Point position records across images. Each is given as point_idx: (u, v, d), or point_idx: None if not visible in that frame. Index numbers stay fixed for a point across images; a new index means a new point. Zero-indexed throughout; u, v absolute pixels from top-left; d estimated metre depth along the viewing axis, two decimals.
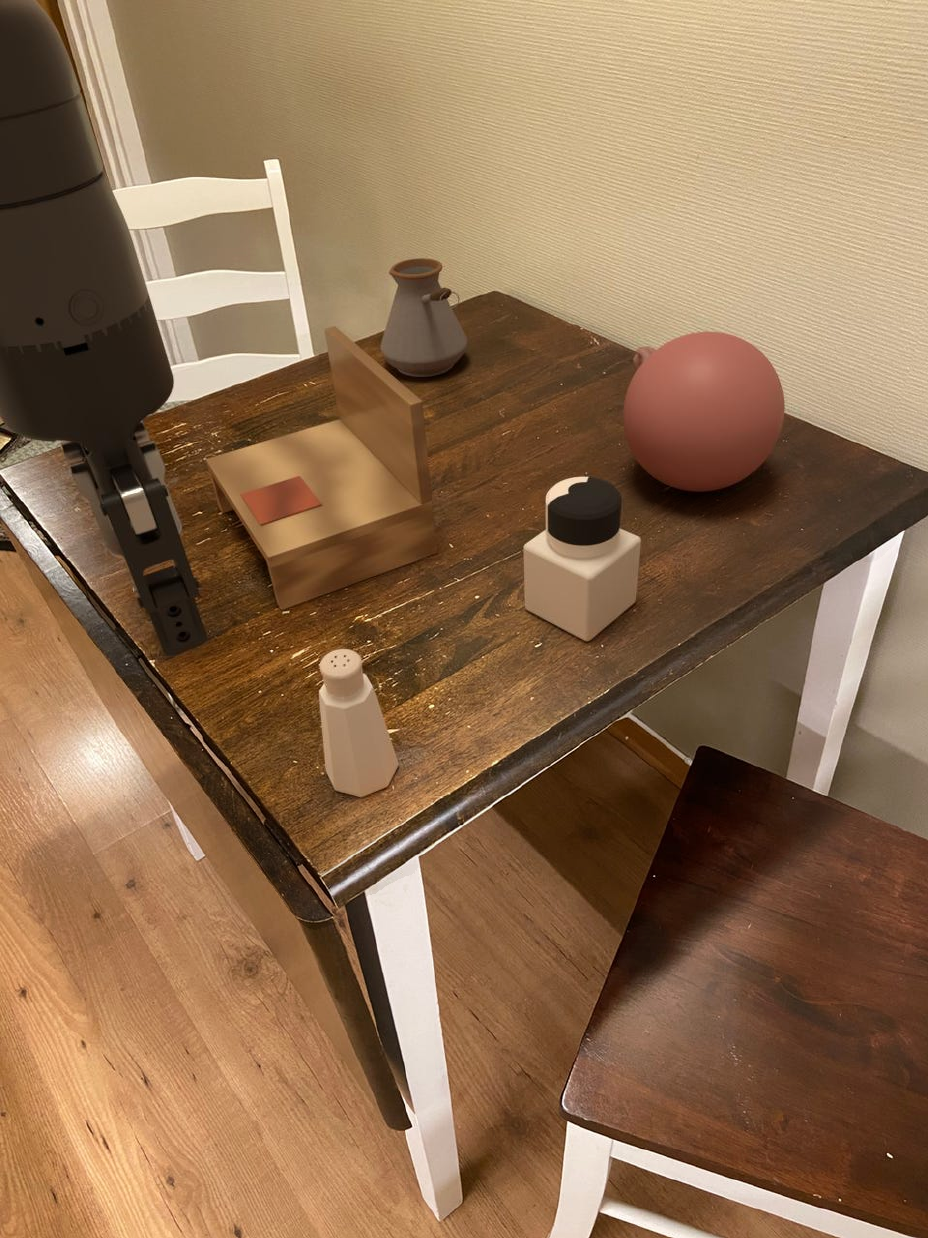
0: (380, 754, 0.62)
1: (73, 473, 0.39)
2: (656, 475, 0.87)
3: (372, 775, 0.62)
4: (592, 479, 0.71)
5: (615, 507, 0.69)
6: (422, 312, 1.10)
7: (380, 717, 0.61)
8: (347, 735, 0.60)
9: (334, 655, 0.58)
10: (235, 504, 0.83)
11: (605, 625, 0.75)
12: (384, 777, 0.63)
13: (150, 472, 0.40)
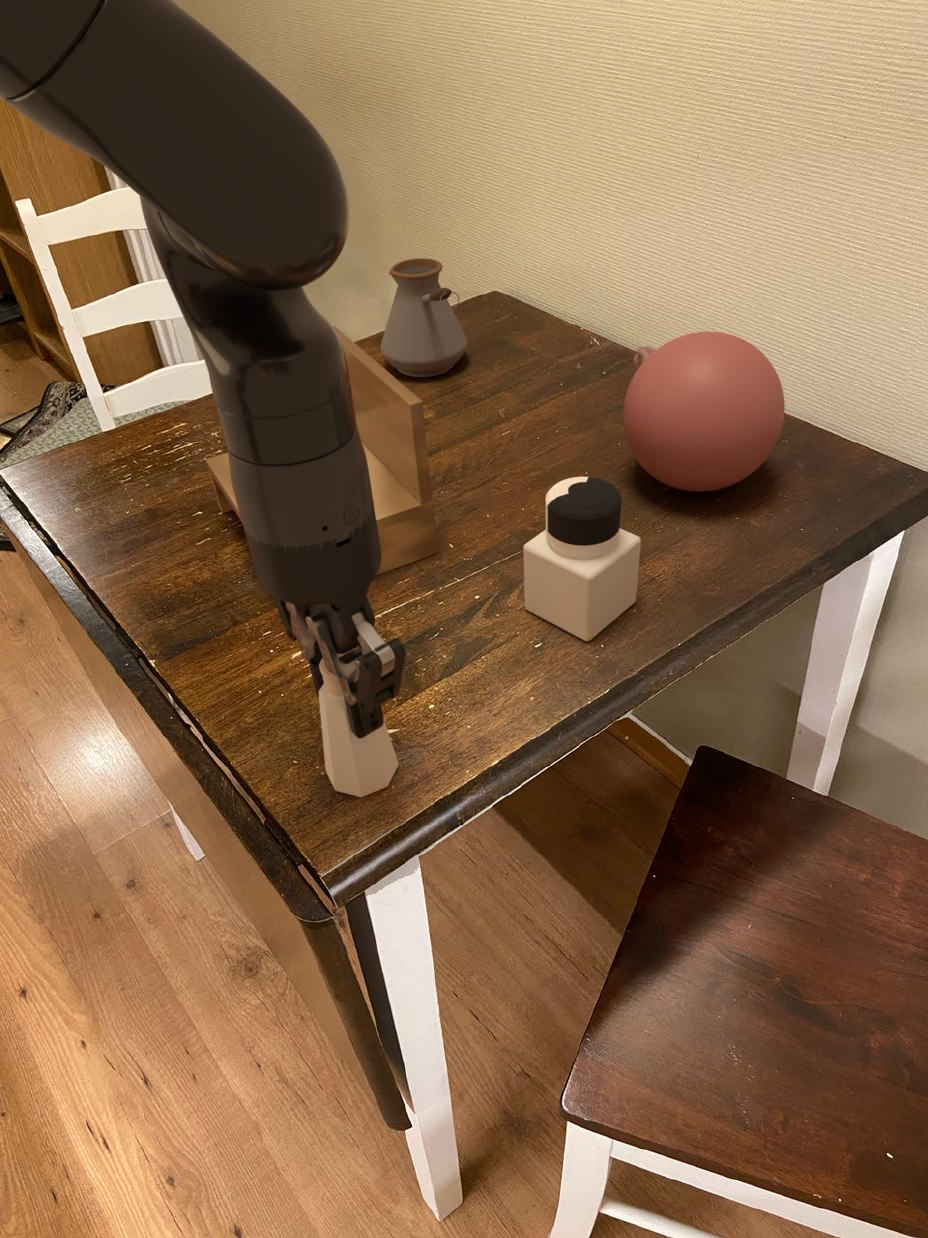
0: (380, 754, 0.62)
1: (316, 625, 0.53)
2: (656, 475, 0.87)
3: (372, 775, 0.62)
4: (592, 479, 0.71)
5: (614, 507, 0.69)
6: (422, 312, 1.10)
7: None
8: (347, 735, 0.60)
9: None
10: (235, 504, 0.83)
11: (605, 625, 0.75)
12: (384, 777, 0.63)
13: None
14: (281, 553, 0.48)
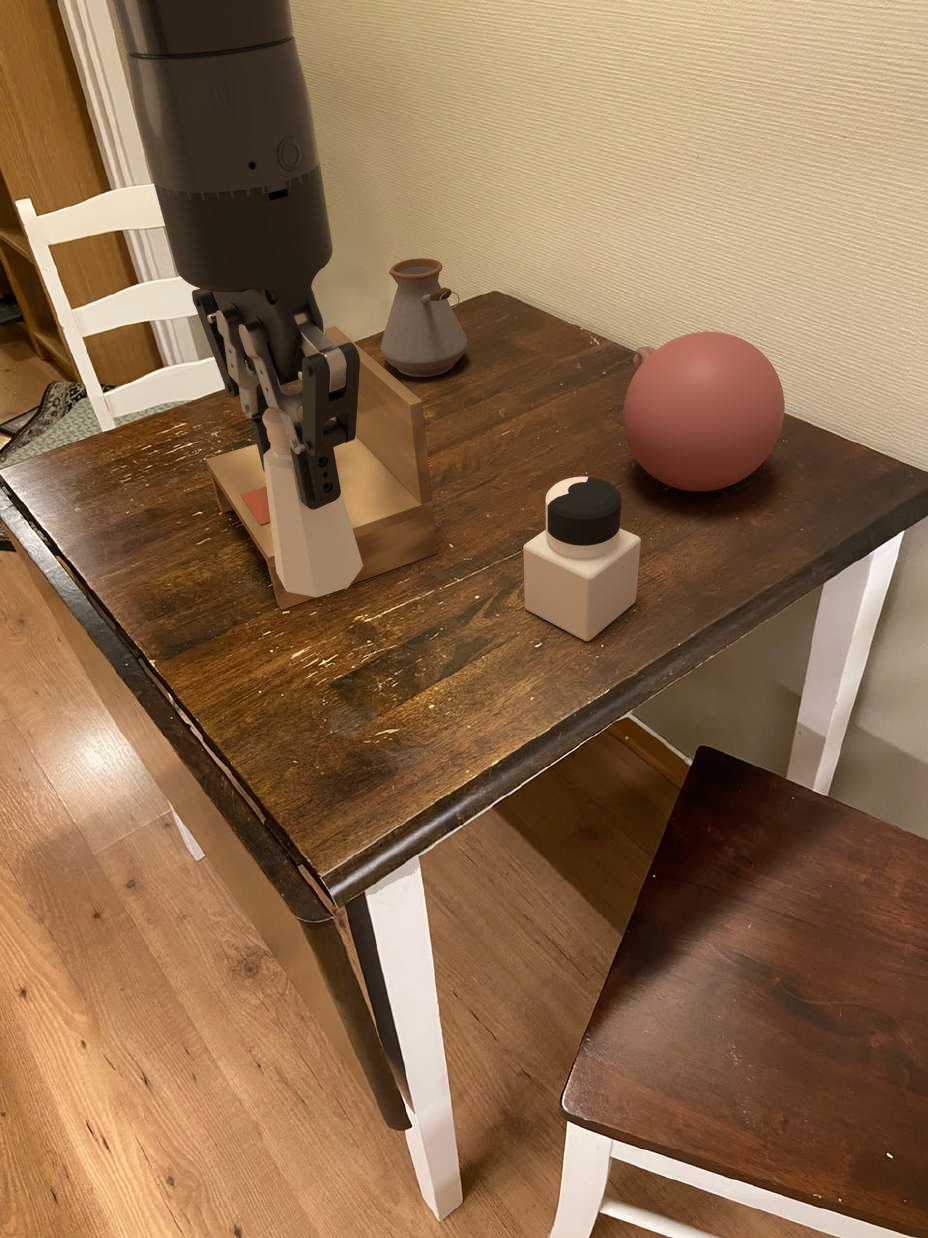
0: (339, 541, 0.52)
1: (251, 334, 0.42)
2: (656, 475, 0.87)
3: (329, 568, 0.52)
4: (592, 479, 0.71)
5: (614, 507, 0.69)
6: (422, 312, 1.10)
7: None
8: (298, 508, 0.49)
9: None
10: (235, 504, 0.83)
11: (605, 625, 0.75)
12: (344, 573, 0.53)
13: None
14: (198, 204, 0.38)
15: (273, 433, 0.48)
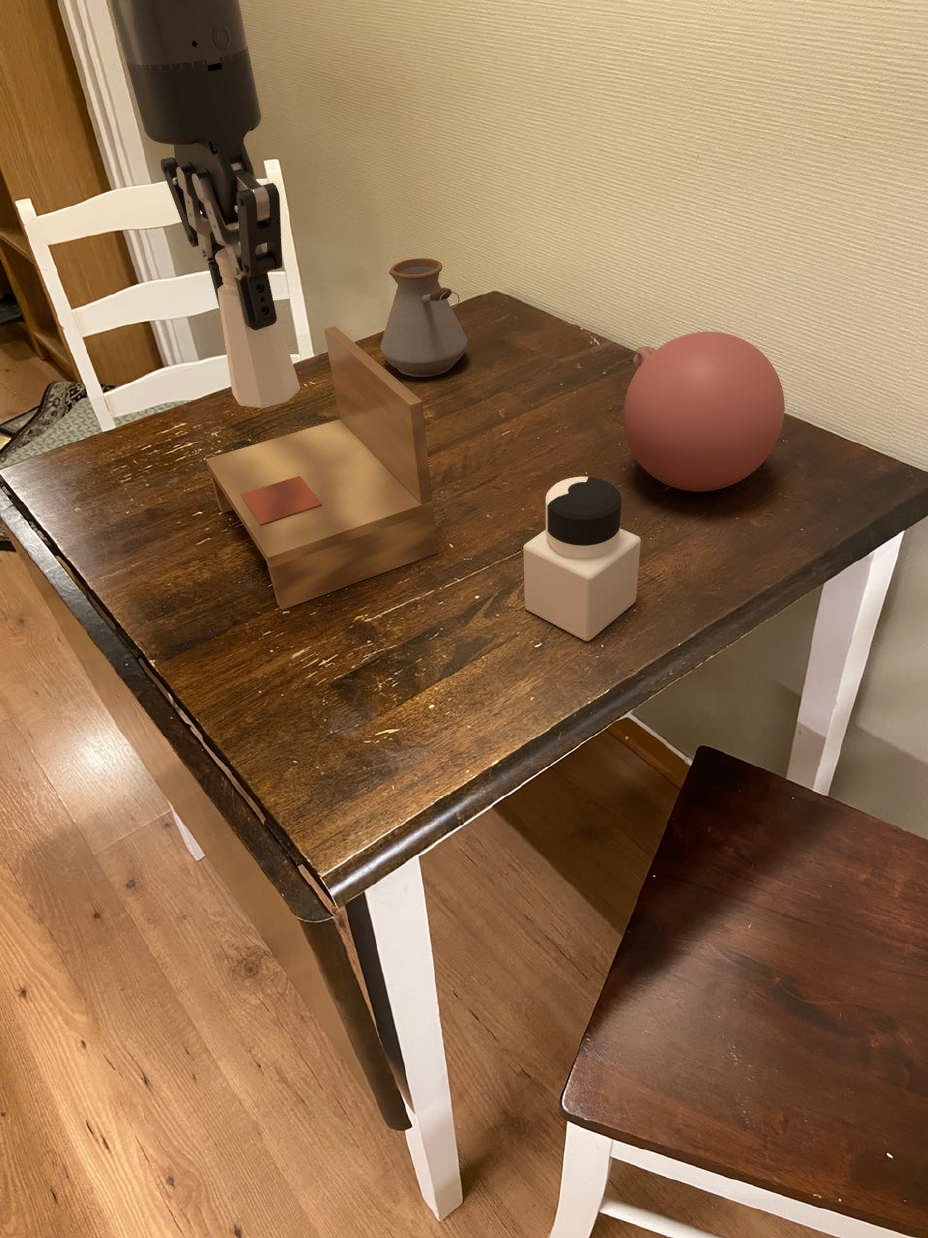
0: (278, 361, 0.67)
1: (200, 180, 0.57)
2: (656, 475, 0.87)
3: (271, 383, 0.67)
4: (592, 479, 0.71)
5: (614, 507, 0.69)
6: (422, 312, 1.10)
7: (277, 322, 0.66)
8: (244, 330, 0.64)
9: None
10: (235, 504, 0.83)
11: (605, 625, 0.75)
12: (283, 389, 0.68)
13: None
14: (157, 74, 0.53)
15: (223, 267, 0.62)
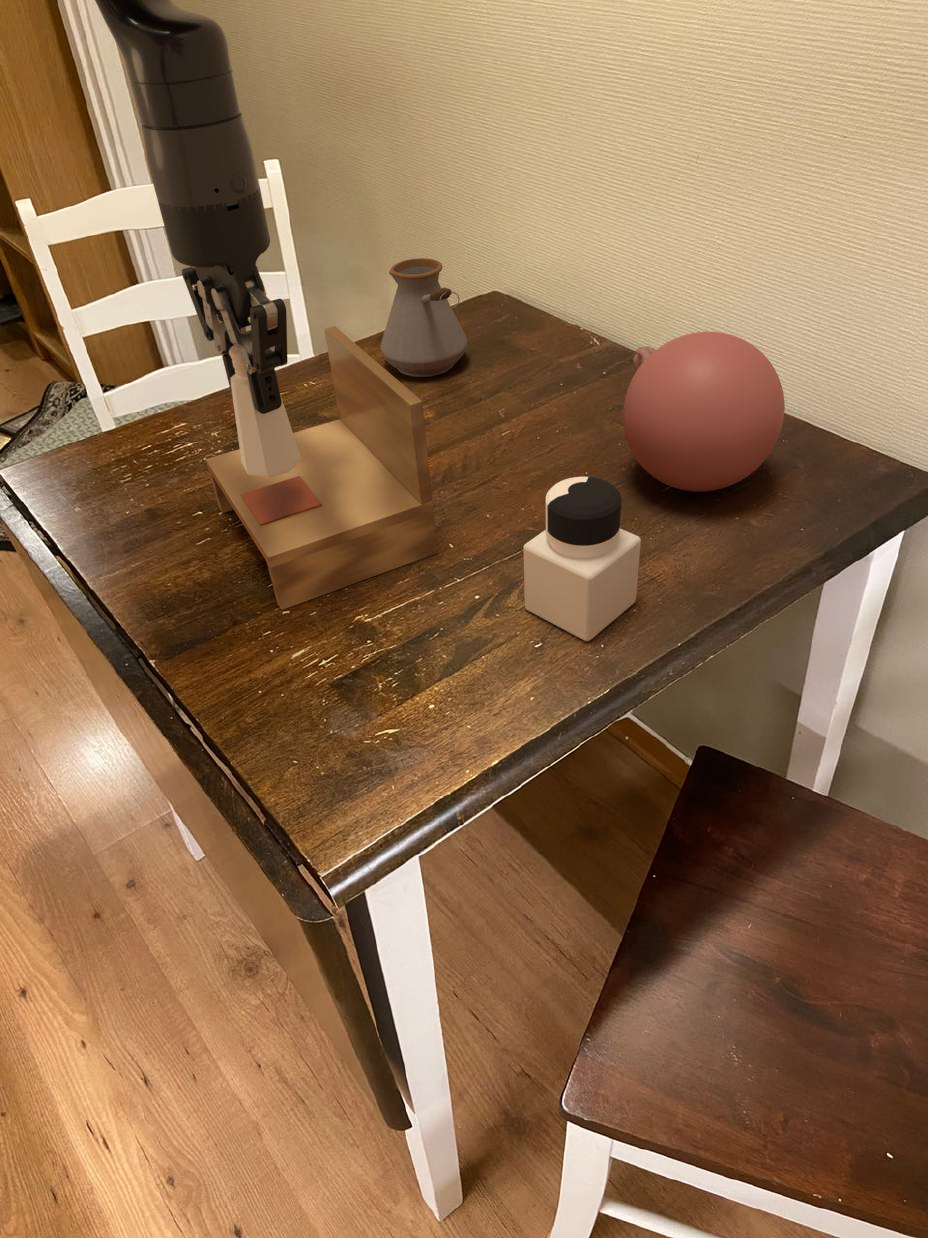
0: (282, 438, 0.77)
1: (218, 294, 0.68)
2: (656, 475, 0.87)
3: (276, 456, 0.77)
4: (592, 479, 0.71)
5: (614, 507, 0.69)
6: (422, 312, 1.10)
7: (281, 405, 0.76)
8: (253, 413, 0.75)
9: None
10: (235, 504, 0.83)
11: (605, 625, 0.75)
12: (287, 461, 0.78)
13: None
14: (184, 213, 0.63)
15: (236, 361, 0.73)
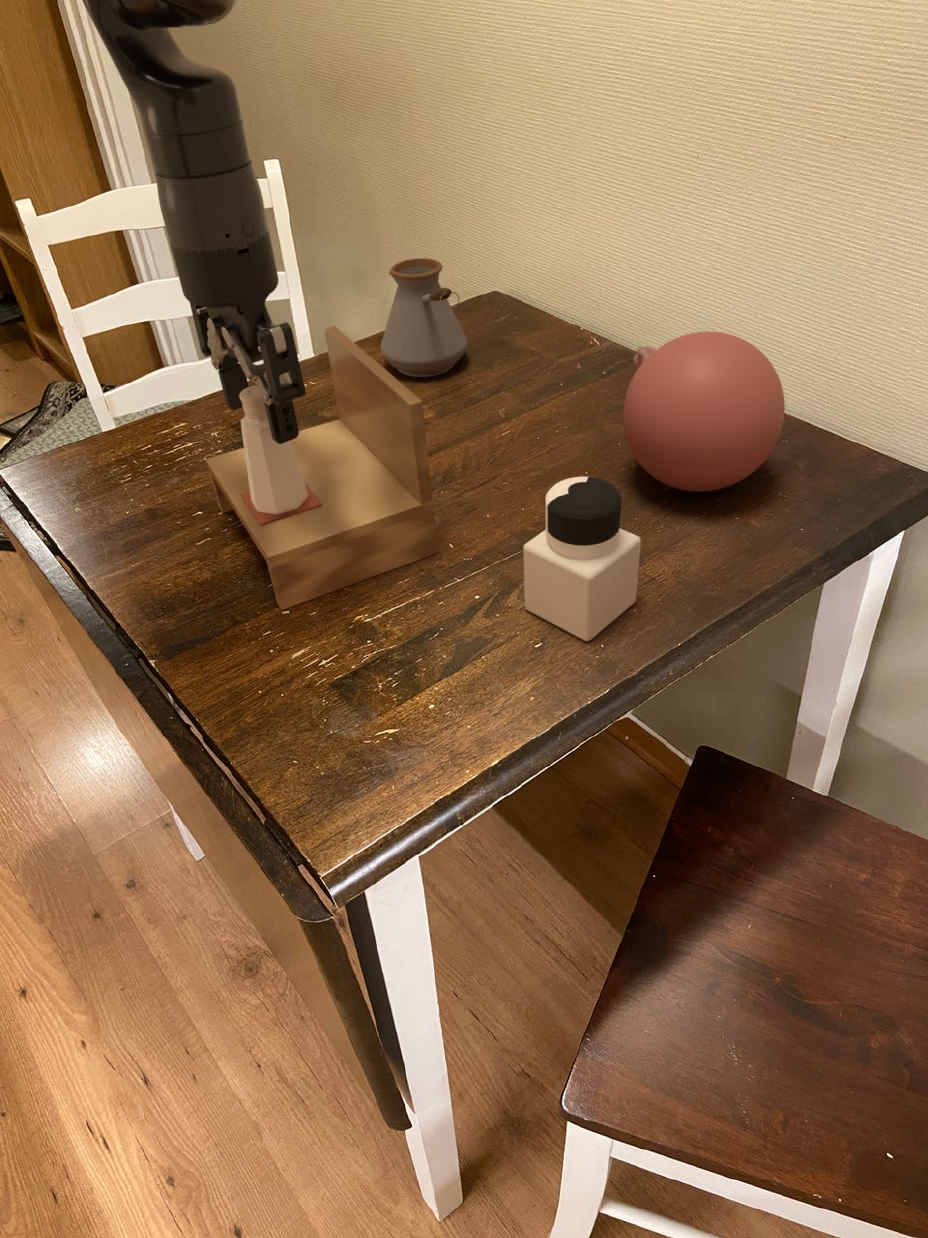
0: (291, 477, 0.79)
1: (227, 329, 0.70)
2: (656, 475, 0.87)
3: (285, 494, 0.80)
4: (592, 479, 0.71)
5: (614, 507, 0.69)
6: (422, 312, 1.10)
7: (290, 445, 0.79)
8: (263, 454, 0.77)
9: (251, 388, 0.76)
10: (235, 504, 0.83)
11: (605, 625, 0.75)
12: (295, 498, 0.81)
13: None
14: (196, 257, 0.65)
15: (246, 405, 0.75)
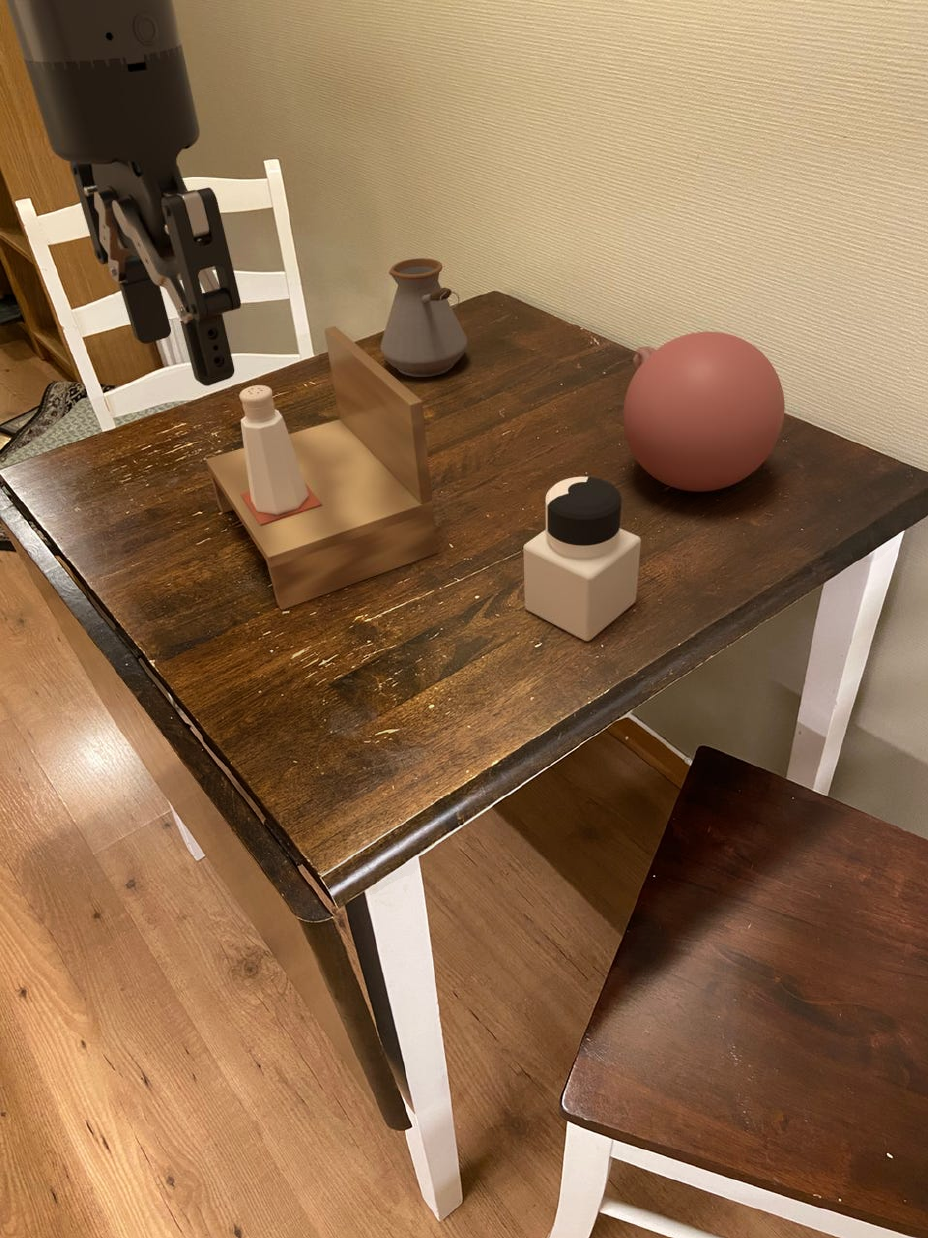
0: (291, 477, 0.79)
1: (120, 204, 0.46)
2: (656, 475, 0.87)
3: (285, 494, 0.80)
4: (592, 479, 0.71)
5: (614, 507, 0.69)
6: (422, 312, 1.10)
7: (290, 445, 0.79)
8: (263, 454, 0.77)
9: (251, 388, 0.76)
10: (235, 504, 0.83)
11: (605, 625, 0.75)
12: (295, 498, 0.81)
13: None
14: (61, 74, 0.41)
15: (246, 405, 0.75)
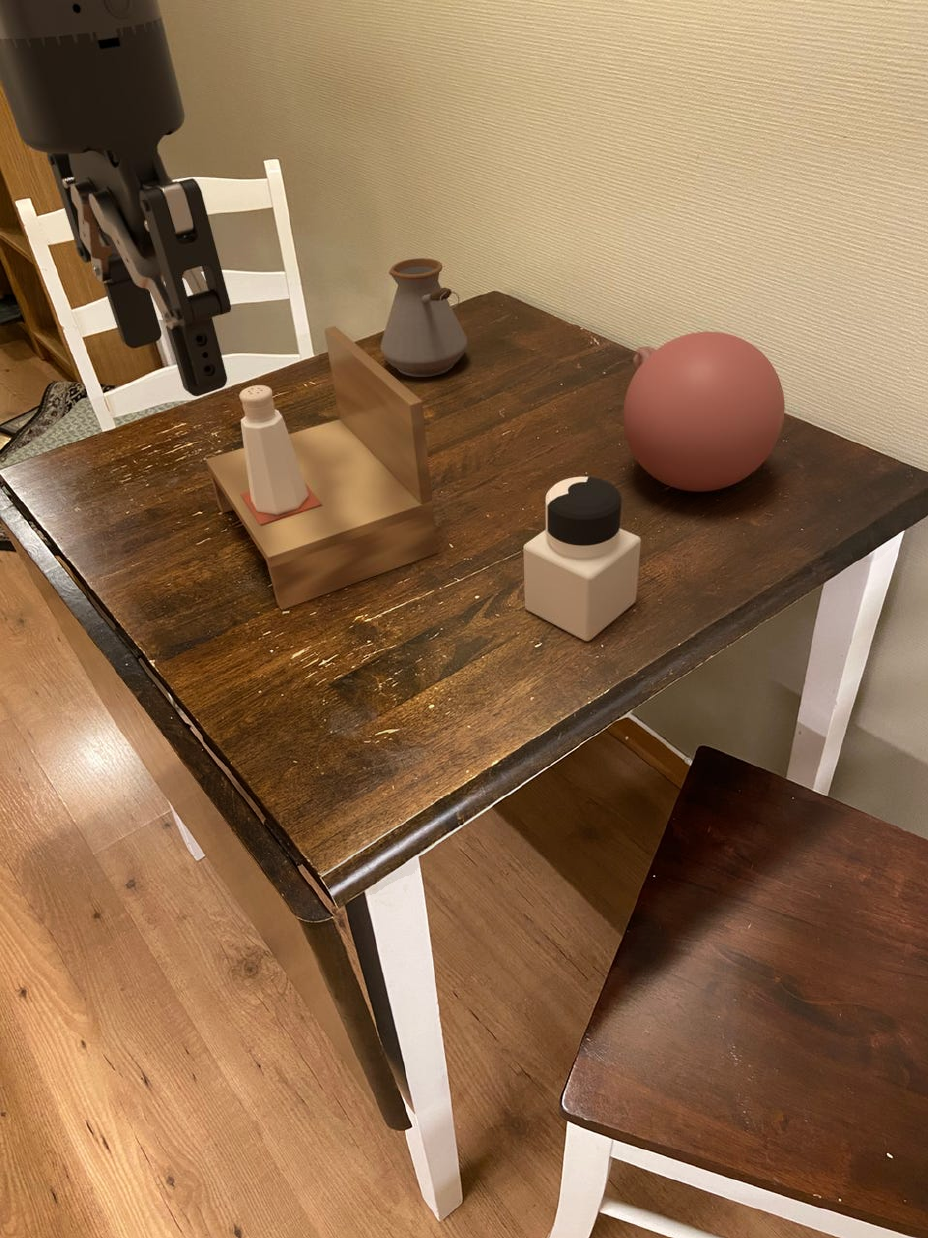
0: (291, 477, 0.79)
1: (97, 198, 0.41)
2: (656, 475, 0.87)
3: (285, 494, 0.80)
4: (592, 479, 0.71)
5: (615, 507, 0.69)
6: (422, 312, 1.10)
7: (290, 445, 0.79)
8: (263, 454, 0.77)
9: (251, 388, 0.76)
10: (235, 504, 0.83)
11: (605, 625, 0.75)
12: (295, 498, 0.81)
13: None
14: (25, 52, 0.36)
15: (246, 405, 0.75)
